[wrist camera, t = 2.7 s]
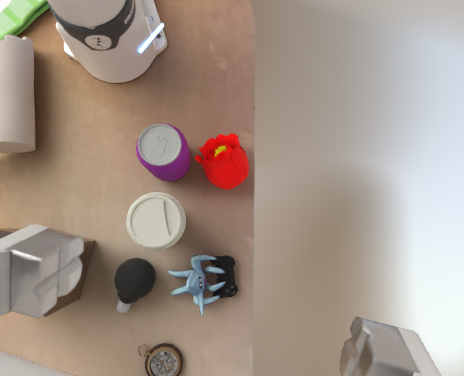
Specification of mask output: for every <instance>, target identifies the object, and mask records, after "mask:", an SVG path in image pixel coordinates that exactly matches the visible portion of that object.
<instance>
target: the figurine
mask: <svg viewBox="0 0 464 376" xmlns="http://www.w3.org/2000/svg"><path fill="white" fill-rule="evenodd" d="M206 260H210V263H212V264H214V265H216V267H213V266H208V267H206V268H205V269H204V270H203V271H202V269H201V261H206ZM191 265H192V267H193V269H192V270H185V271H167V272H168V273H169V274H170V275H172V276H174V277H187V282H186V286H184V287H181V288H178V289H175V290H174V291H172V292H171V293H170V295H174V296H175V295H179V294H182V293H188V292H190V293H191V295H192V296H194V303H195V304H196V305H198V306H199V308H200V313H201V314H202V316H203V315H204V305H208V304H210V303H212V302H214V301H215V300H217V299H218V298H223V297H226V296H227V297H233V296H234V295H235V294H236V293H237V291H238V288H237V285H235V280H234V270H233V267H234V265H235V260H234V259H233V258H232V257H230V256H223V257H221V256H217V257H212V256H210V255H205V254H202V255H195V256H193V257H192V259H191ZM207 273H216V275H217V276H219V278H218V279H217V284H216V285H213V286H211V285H210V284H209V283H208V282H206V275H205V274H207ZM207 289H208V290H209V291H211V292H213V291H215V292H214V293H213V296H214V297H211V298H203V292H204V291H206V290H207Z"/></svg>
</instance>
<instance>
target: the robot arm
mask: <svg viewBox="0 0 464 376" xmlns="http://www.w3.org/2000/svg"><path fill="white" fill-rule="evenodd" d="M47 1H48V5H49V8H50V9H51V11H52V13H53V15H54V17H55V19H56V20H57V24H56V28H57V30H58V32H59V33H60V35H61V37H62V38H63V40H64V41H65V42H64V51H65V53H66V55H67V56H68V57H70V58H72V59H74V60H76V61H78V62H79V63H80V64H81V65H82V66H83V67H84V68H85V69H86V70H87V71H88V72H89V73H90V74H91V75H92V76H94V77H96V78H97V79H100V80H102V81H105V82H110V83H122V82H127V81H130V80H133V79H135V78H137V77H139V76H140V75H142V74H143V73H144V72H145V71H146V70H147V69H148V68H149V66H150V65H151V63H152V61H153V60H154V58H155V57H156V56H157V55H158V54H159V53H161V52H162V51H163V50H164V49H165V48H166V47H167V45H168V43H167V39H166V36H165V33H164V30H163V27H164V24H163V23H162V24H161V21H160V18H159V15H158V12H157V9H156V6H155V2H154V0H47ZM158 36H161V37H160V38H157V37H158ZM83 252H84V240H83V239H82V238H81V237H79V236H75V235H72V234H69V233H66V232H62V231H59V230H56V229H52V228H50V227H46V226H42V225H39V224H31V225H29V226H27V227H25V228H22V229H20V230H18V231H16V232H14V233H12V234H10V235H7V236H5V237H3V238H1V239H0V316H1V315H4V314H6V313H9V312H10V311H13V312H17V313H20V314H24V315H27V316H31V317H34V318H38V319H40V318H41V317H42V316H43V315H44V314H45V313H47V312H48V311H49V310H50V309H51V308H52V307H54V306H55V305H56V304H57V297H60V296H64V295H67V294H68V293H70V292H71V291H72V290H73V289H74V288H75V286H76V285H77V283H78V281H79V280H80V277H81V274H82V267H83V264H82V262H81V260H80V258H79V255H81V254H82V253H83ZM350 330H351V334H352V338H350V339H349V340H347V341H346V342H345V343H344V346H343V349H342V351H341V358H340V373H341V376H441V374H440V373H439V371H438V369H437V367H436V366H435V364H434V362H433V360H432V359H431V357H430V355H429V353H428V352H427V350H426V348H425V346H424V344H423V343H422V341H421V339H420V337H419V336H418V334H417V333H415V332H414V331H411V330H408V329H404V328H400V327H395V326H391V325H387V324H383V323H379V322H376V321H371V320H368V319H364V318H360V317H356V318H355V319H354V321H353V323H352V325H351V327H350ZM0 376H74V375H71V374H68V373H65V372H62V371H59V370H56V369H53V368H50V367H47V366H45V365H42V364H39V363H36V362H33V361H30V360H27V359H24V358H21V357H18V356H15V355H12V354H9V353H6V352H3V351H0Z"/></svg>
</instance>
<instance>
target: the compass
mask: <svg viewBox="0 0 464 376" xmlns="http://www.w3.org/2000/svg"><path fill="white" fill-rule="evenodd" d="M141 346H147V345H141ZM141 346H140V347H141ZM140 347H139V349H140ZM147 347H148V346H147ZM139 349H138V352H139ZM148 349H149V347H148ZM139 354H140V352H139ZM145 354H147V355H148V356H147V355H141V354H140V355H141V356H147V359H146V363H145V368H146V372H147V374H148V376H179V374H180V373H181V370H182V366H183V358H182V354H181V353H180V351H179V350H178V349H177V348H176V346H173V345H171V344H166V343H165V344H160V345H157V346H155V347H154V348H153V349H152V350H151V351H150V349H149V351H146V352H145Z"/></svg>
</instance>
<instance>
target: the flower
mask: <svg viewBox="0 0 464 376" xmlns="http://www.w3.org/2000/svg"><path fill="white" fill-rule="evenodd" d="M199 150H200V152H201V153H202V155H203V157H204V160H203V158H202V157H201V156H200V155H196V156H195V159H196V161H197V162H199V163H200V164H202V165H203V169H204V172H205V174H206V176H207V178H208V180H209V181H210V182H211V183H212V184H214V185H215V186H217V187H219V188H222V189H226V190H228V189H231V188H234V187H236V186H237V185H239V184H240V183H242V182H243V181H244V180H245V179H246V178H247V176H248V171H249V163H248V159H247V155H246V153H245V151H244V150H243V148H242V147H241V146H240V143H239V140H238V136H237V135H236V134H230V135H227V136H224V135H221V134H220V135H218V136H217V138H216V139H214V138H210V139H209V140H208V141H207V142H206V143H205V145H204V147H202V148H199Z"/></svg>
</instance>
